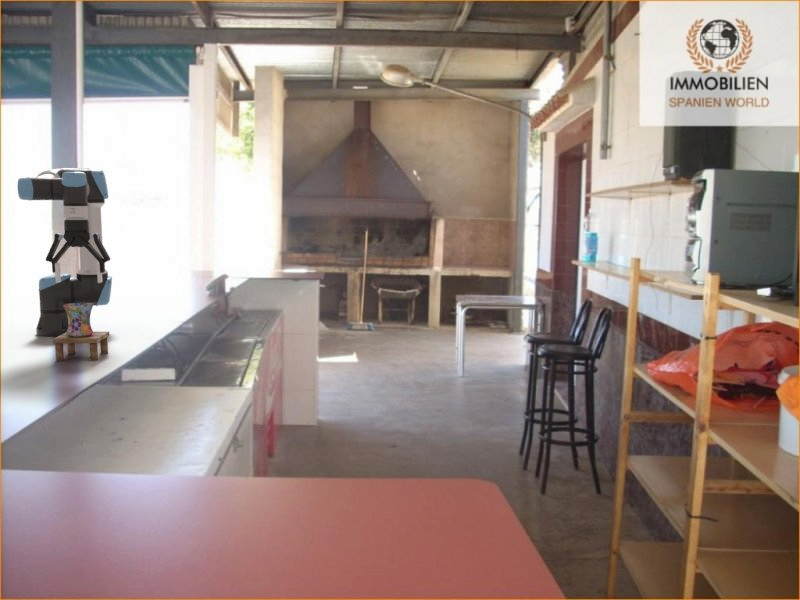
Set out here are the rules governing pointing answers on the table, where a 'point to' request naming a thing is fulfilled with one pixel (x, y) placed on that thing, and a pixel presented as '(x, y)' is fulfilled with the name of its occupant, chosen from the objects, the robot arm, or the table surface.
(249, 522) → the table surface
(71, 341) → the stool
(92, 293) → the robot arm
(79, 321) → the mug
